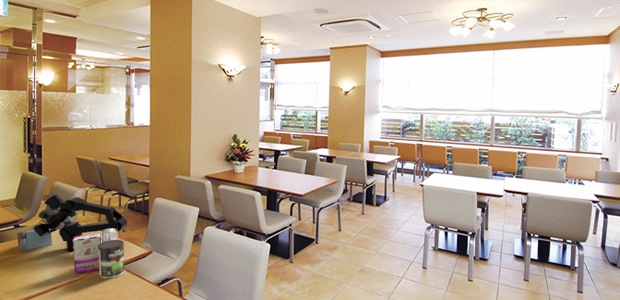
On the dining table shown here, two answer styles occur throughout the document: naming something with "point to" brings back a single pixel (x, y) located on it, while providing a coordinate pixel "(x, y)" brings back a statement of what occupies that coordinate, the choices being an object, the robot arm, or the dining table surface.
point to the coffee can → (111, 258)
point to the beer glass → (109, 234)
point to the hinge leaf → (34, 241)
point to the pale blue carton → (22, 236)
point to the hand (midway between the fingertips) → (43, 235)
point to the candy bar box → (86, 253)
